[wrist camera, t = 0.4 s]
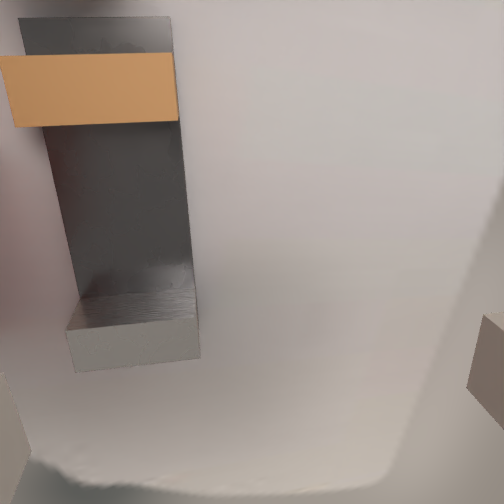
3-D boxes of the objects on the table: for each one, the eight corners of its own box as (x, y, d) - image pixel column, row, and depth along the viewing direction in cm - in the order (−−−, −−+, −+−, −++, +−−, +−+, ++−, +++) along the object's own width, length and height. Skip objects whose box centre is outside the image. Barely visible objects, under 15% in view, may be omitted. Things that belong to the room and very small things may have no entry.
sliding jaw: (25, 59, 28) (-3, 56, 24) (173, 56, 29) (171, 52, 25) (39, 120, 30) (15, 127, 25) (178, 114, 31) (178, 120, 27)
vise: (24, 20, 28) (-16, 6, 23) (170, 18, 30) (167, 4, 24) (92, 333, 39) (76, 377, 33) (198, 322, 40) (200, 362, 34)
